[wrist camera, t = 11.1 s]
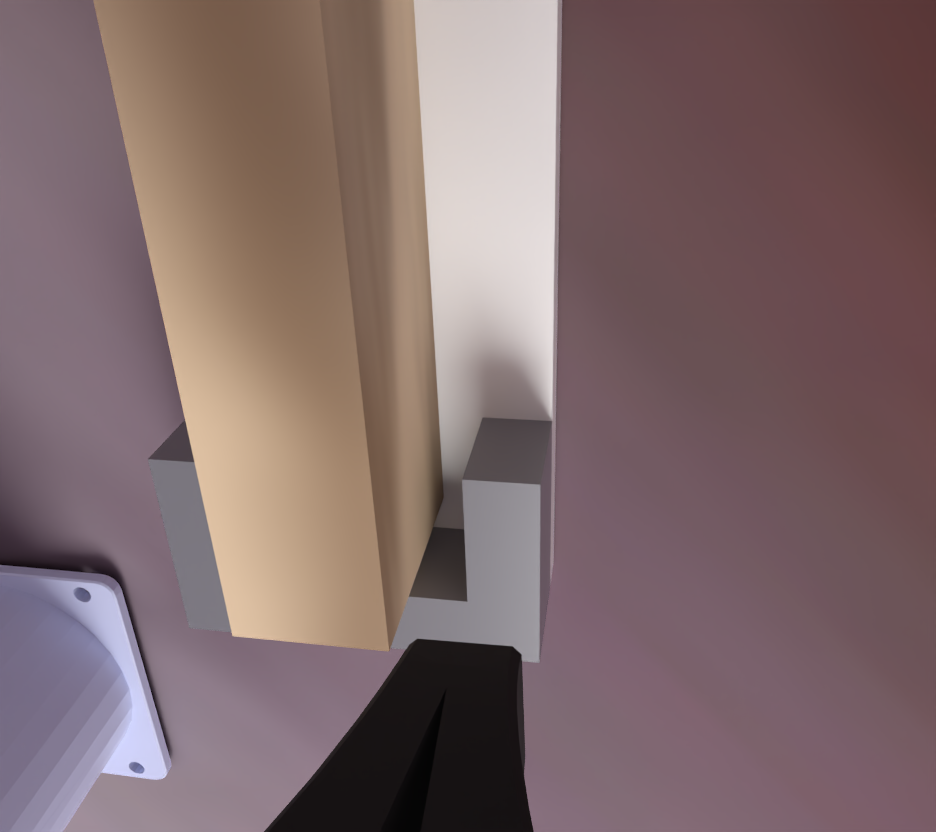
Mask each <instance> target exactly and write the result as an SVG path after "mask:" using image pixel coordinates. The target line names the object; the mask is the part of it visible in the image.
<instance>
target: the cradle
mask: <svg viewBox="0 0 936 832" xmlns="http://www.w3.org/2000/svg"><path fill="white" fill-rule="evenodd" d="M414 13H415V29H416V46H417V62H418V79H419V95H420V112H421V128H422V145H423V162H424V178H425V195H426V211H427V228H428V244H429V261H430V277H431V294H432V310H433V327H434V344H435V360H436V377H437V393H438V410H439V426H440V443H441V459H442V476H443V493H444V498H443V501H442V504H441V506H440V509H439V512H438V515H437V518H436V521H435V523H434V526H433V529H432V532H431V535H430V538H429V540H428V543H427V546H426V549H425V552H424V555H423V557H422V560H421V563H420V566H419V569H418V572H417V574H416V577H415V580H414V583H413V586H412V588H411V591H410V594H409V597H408V600H407V603H406V605H405V608H404V611H403V614H402V617H401V620H400V622H399V625H398V628H397V631H396V634H395V637H394V639H393V642H392V645H391V648H396V649H407V647H408V646H409V644H411V643H412V642H413V641H415V640H416V639H429V640H441V641H454V642H466V643H478V644H491V645H503V646H513V647H514V648H515V649H516V650H517V651H518V652H520V653H521V654H522V661H527V662H537V663H539V662H540V655H541V648H542V641H543V634H544V626H545V619H546V612H547V605H548V598H549V591H550V584H551V576H552V569H553V562H554V506H555V440H556V375H557V309H558V243H559V178H560V112H561V46H562V0H414ZM148 461H149V466H150V470H151V474H152V478H153V482H154V486H155V490H156V494H157V498H158V502H159V506H160V510H161V514H162V519H163V523H164V527H165V531H166V535H167V539H168V543H169V547H170V551H171V555H172V559H173V563H174V567H175V571H176V576H177V580H178V584H179V588H180V592H181V596H182V600H183V604H184V608H185V612H186V616H187V620H188V624H189V628H195V629H205V630H215V631H225V632H232V631H231V627H230V622H229V618H228V613H227V609H226V604H225V599H224V595H223V590H222V586H221V581H220V577H219V572H218V567H217V563H216V558H215V554H214V549H213V545H212V540H211V535H210V531H209V526H208V522H207V517H206V513H205V508H204V503H203V499H202V494H201V490H200V485H199V481H198V476H197V471H196V467H195V462H194V458H193V453H192V449H191V444H190V439H189V435H188V430H187V426H186V421H184V422H183V423H182V424H181V425H180V426H179V427H178V428H177V429H176V430H175V431H174V432H173V433H172V434H171V435H170V437H169V438H168V439H167V440H166V441H165V442H164V443H163V444H162V445H161V446H160V447H159V448H158V449H157V450H156V451H155V452H154V453H153V454H152V455H151V457H150V458H149V459H148Z"/></svg>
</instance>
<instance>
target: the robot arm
mask: <svg viewBox="0 0 936 832" xmlns="http://www.w3.org/2000/svg"><path fill="white" fill-rule="evenodd" d="M85 589H86V590H87V591H86V590H85ZM524 765H525V738H524V708H523V679H522V654H521V653H520V652H518V651H517V650H516V649H515V648H514V647H513V646H503V645H491V644H478V643H466V642H454V641H441V640H429V639H416V640H415V641H413V642H412V643H411V644H409V646H408V647H407V649H406V650H405V652H404V653H403V655H402V657H401V658H400V660H399V661H398V663H397V664H396V666H395V667H394V669H393V670H392V671H391V673H390V674H389V676H388V677H387V679H386V680H385V682H384V683H383V685H382V686H381V687H380V689H379V690H378V692H377V693H376V694H375V696H374V697H373V699H372V700H371V701H370V703H369V704H368V705H367V707H366V708H365V709H364V711H363V712H362V714H361V715H360V716H359V718H358V719H357V720H356V722H355V723H354V724H353V726H352V727H351V728H350V729H349V731H348V732H347V733H346V735H345V736H344V737H343V738H342V740H341V741H340V742H339V743H338V745H337V746H336V747H335V749H334V750H333V751H332V752H331V754H330V755H329V756H328V757H327V759H326V760H325V761H324V762H323V764H322V765H321V766H320V768H319V769H318V770H317V771H316V772H315V774H314V775H313V776H312V777H311V779H310V780H309V781H308V782H307V783H306V784H305V786H304V787H303V788H302V789H301V790H300V791H299V792H298V794H297V795H296V796H295V797H294V798H293V799H292V800H291V802H290V803H289V804H288V805H287V806H286V807H285V808H284V810H283V811H282V812H281V813H280V814H279V815H278V816H277V818H276V819H275V820H274V821H273V822H272V823H271V824H270V826H269V827H268V828H267V829H266V830H265V831H264V832H533V827H532V821H531V816H530V811H529V805H528V799H527V793H526V786H525V780H524ZM170 768H171V760H170V757H169V753H168V750H167V746H166V743H165V739H164V736H163V732H162V729H161V725H160V722H159V718H158V715H157V711H156V708H155V704H154V701H153V697H152V694H151V690H150V687H149V683H148V680H147V676H146V673H145V669H144V666H143V662H142V659H141V655H140V652H139V648H138V645H137V641H136V638H135V634H134V631H133V627H132V624H131V620H130V617H129V613H128V610H127V606H126V603H125V599H124V596H123V592H122V589H121V587H120V585H119V583H118V582H117V581H116V580H115V579H113V578H111V577H110V576H107V575H103V574H96V573H84V572H73V571H62V570H51V569H40V568H29V567H18V566H7V565H0V832H63V831H64V829H65V828H66V826H67V824H68V823H69V821H70V820H71V818H72V817H73V815H74V814H75V812H76V811H77V809H78V807H79V806H80V804H81V803H82V801H83V800H84V798H85V797H86V795H87V794H88V792H89V791H90V789H91V787H92V786H93V784H94V783H95V781H96V780H97V778H98V777H99V775H100V774H101V773H109V774H117V775H124V776H132V777H139V778H147V779H162V778H164V777H165V776H166V775H167V773H168V771H169V770H170Z"/></svg>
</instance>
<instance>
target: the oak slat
mask: <svg viewBox="0 0 936 832" xmlns="http://www.w3.org/2000/svg"><path fill="white" fill-rule="evenodd" d="M93 1H94V5H95V10H96V14H97V19H98V24H99V28H100V33H101V37H102V42H103V46H104V51H105V56H106V60H107V65H108V69H109V74H110V78H111V83H112V88H113V92H114V97H115V101H116V106H117V110H118V115H119V120H120V124H121V129H122V133H123V138H124V142H125V147H126V152H127V156H128V161H129V165H130V170H131V174H132V179H133V184H134V188H135V193H136V197H137V202H138V206H139V211H140V216H141V220H142V225H143V229H144V234H145V238H146V243H147V248H148V252H149V257H150V261H151V266H152V270H153V275H154V280H155V284H156V289H157V293H158V298H159V302H160V307H161V312H162V316H163V321H164V325H165V330H166V334H167V339H168V344H169V348H170V353H171V357H172V362H173V366H174V371H175V376H176V380H177V385H178V389H179V394H180V398H181V403H182V407H183V412H184V417H185V421H186V426H187V430H188V435H189V439H190V444H191V449H192V453H193V458H194V462H195V467H196V471H197V476H198V481H199V485H200V490H201V494H202V499H203V503H204V508H205V513H206V517H207V522H208V526H209V531H210V535H211V540H212V545H213V549H214V554H215V558H216V563H217V567H218V572H219V577H220V581H221V586H222V590H223V595H224V599H225V604H226V609H227V613H228V618H229V622H230V627H231V631H232V636H237V637H247V638H257V639H268V640H278V641H288V642H298V643H308V644H319V645H329V646H339V647H349V648H359V649H369V650H380V651H390V648H391V645H392V642H393V639H394V637H395V634H396V631H397V628H398V625H399V622H400V620H401V617H402V614H403V611H404V608H405V605H406V603H407V600H408V597H409V594H410V591H411V588H412V586H413V583H414V580H415V577H416V574H417V572H418V569H419V566H420V563H421V560H422V557H423V555H424V552H425V549H426V546H427V543H428V540H429V538H430V535H431V532H432V529H433V526H434V523H435V521H436V518H437V515H438V512H439V509H440V506H441V504H442V501H443V498H444V493H443V476H442V459H441V443H440V426H439V410H438V393H437V377H436V360H435V344H434V327H433V310H432V294H431V277H430V261H429V244H428V228H427V211H426V195H425V178H424V162H423V145H422V128H421V112H420V95H419V79H418V62H417V46H416V29H415V13H414V0H93Z"/></svg>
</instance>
